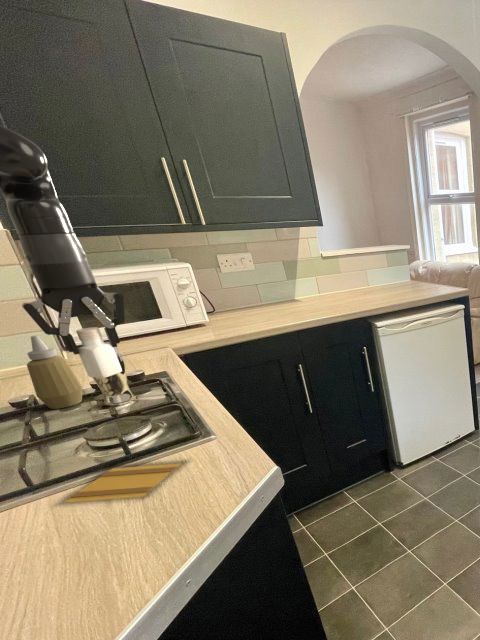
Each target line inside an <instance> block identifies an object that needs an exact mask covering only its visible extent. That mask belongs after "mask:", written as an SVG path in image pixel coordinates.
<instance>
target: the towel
mask: <svg viewBox="0 0 480 640" xmlns="http://www.w3.org/2000/svg"><path fill="white" fill-rule="evenodd" d="M180 465H181V463H169V464H156V465H154V464H153V465H145V466H144V465H143V466H140V465H139V466H129V467H114V468H113V467H112V468H111V469H109V470H108V471H106V472H104V473H103V474H102V475H100V477H98V478H97V479H96V480H94V481H93V482H91V483H90V484H88V485H87V486H86V487H84V488H82V489H80V491H77V492H75V493H74V494H72V496H70V498H69V499H67V500H65V501H64V503H65V504H67V503H78V502H79V503H80V502H92V501H103V500H117V499H131V498H132V499H133V498H143V497H144V496H145V495H146V494H148V493H149V492H150V491H151V490H152V489H153V488H154V487H155V486H157V485H158V484H159V483H160V482H161V481H163V480H164V479H165V478H166V477H167V476H168V475H170V474H171V473H172V472H173V471H174V470H176V469H177V468H178V467H179V466H180Z"/></svg>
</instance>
